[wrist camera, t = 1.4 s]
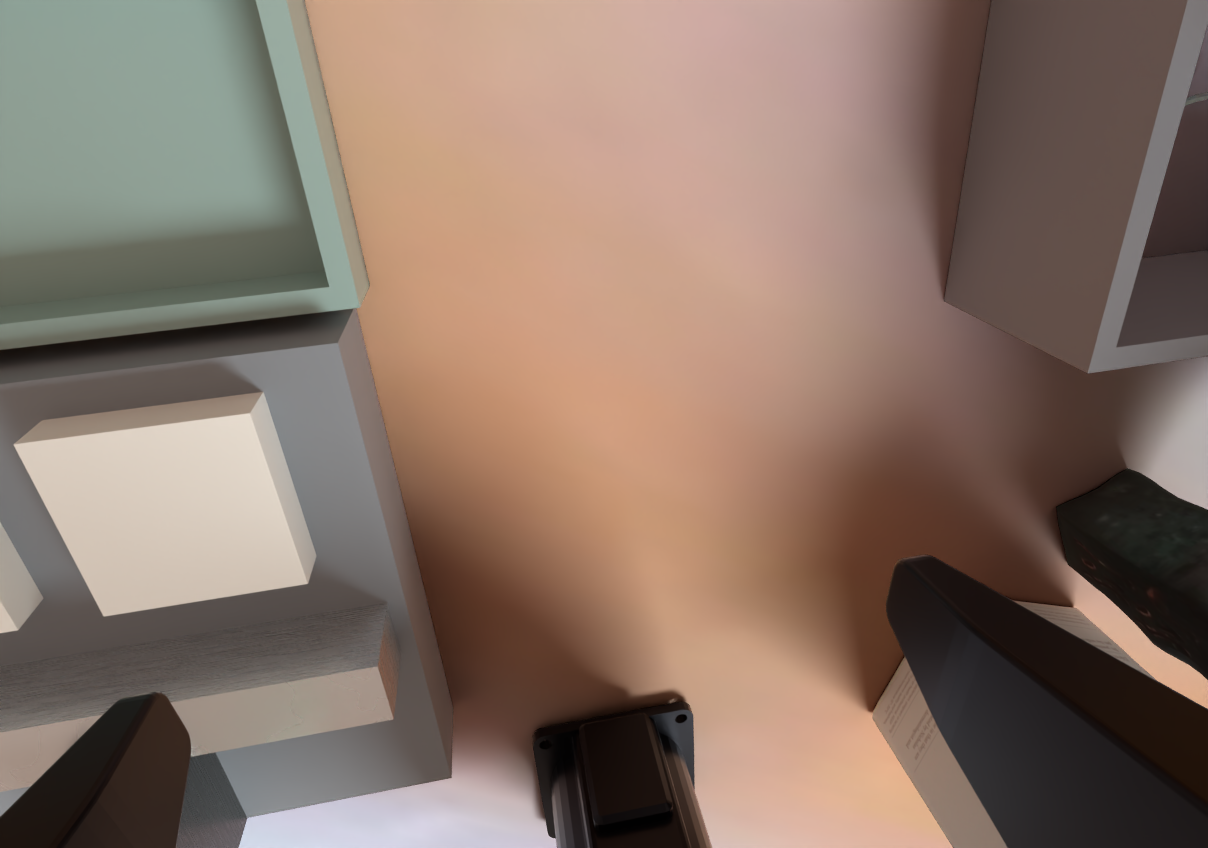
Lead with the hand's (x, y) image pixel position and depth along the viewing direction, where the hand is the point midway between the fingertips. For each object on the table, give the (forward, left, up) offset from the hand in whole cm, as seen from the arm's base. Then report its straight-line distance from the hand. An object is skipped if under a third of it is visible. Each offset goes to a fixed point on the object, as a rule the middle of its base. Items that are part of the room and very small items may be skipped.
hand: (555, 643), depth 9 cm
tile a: (-3, +9, -10) cm, 14 cm away
